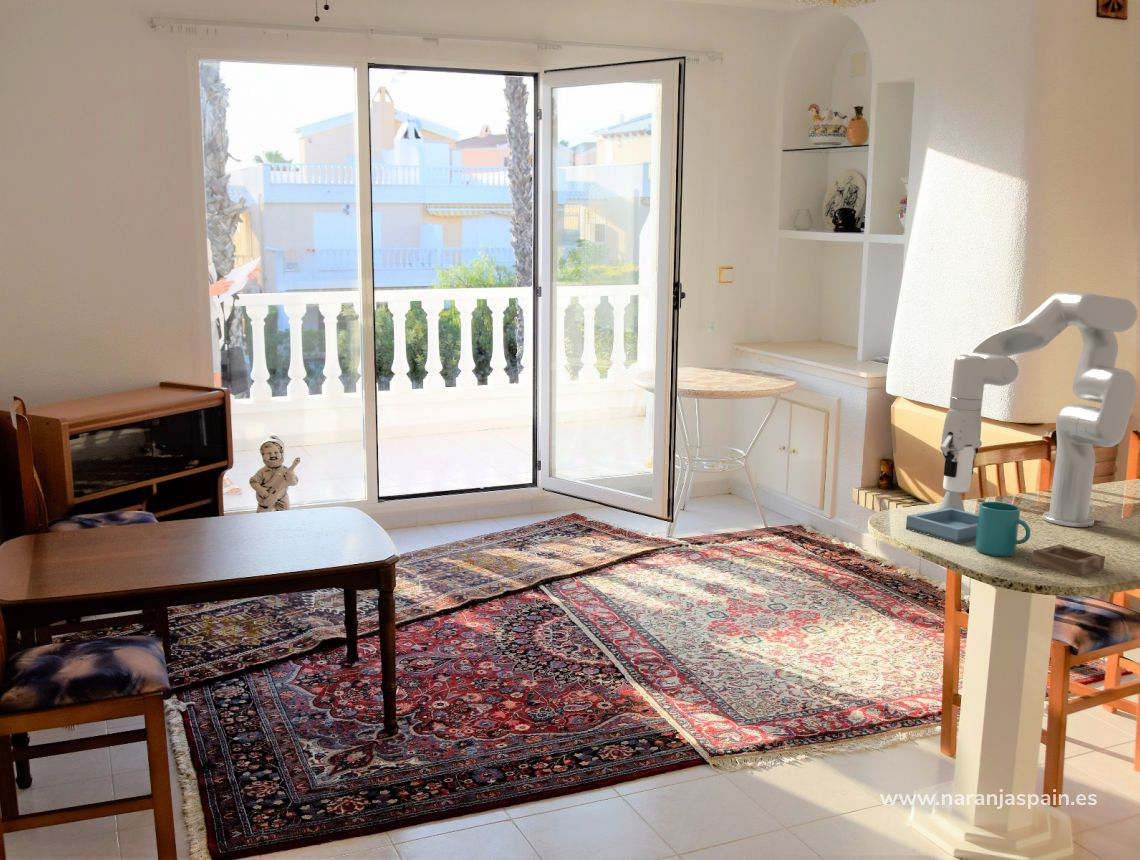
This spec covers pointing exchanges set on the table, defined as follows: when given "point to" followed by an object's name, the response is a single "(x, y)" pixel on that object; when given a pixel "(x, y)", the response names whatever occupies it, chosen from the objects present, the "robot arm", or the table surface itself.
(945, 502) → the flask
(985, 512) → the cup
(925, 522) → the tray
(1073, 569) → the holder
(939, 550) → the table surface
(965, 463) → the can
